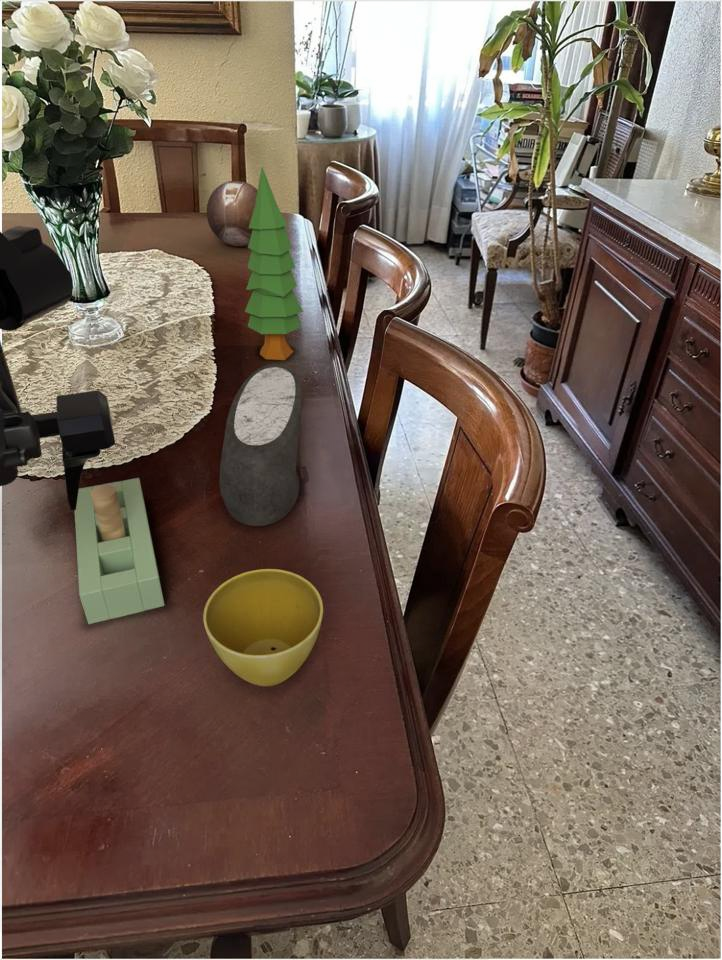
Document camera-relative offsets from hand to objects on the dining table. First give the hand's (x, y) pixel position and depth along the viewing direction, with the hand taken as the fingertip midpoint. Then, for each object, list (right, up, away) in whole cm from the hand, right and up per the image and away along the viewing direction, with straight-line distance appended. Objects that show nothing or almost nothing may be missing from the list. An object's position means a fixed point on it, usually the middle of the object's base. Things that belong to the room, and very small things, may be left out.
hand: (17, 518), depth 58 cm
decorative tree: (+15, +26, +58) cm, 65 cm away
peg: (+4, -5, +14) cm, 15 cm away
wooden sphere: (0, +62, +108) cm, 125 cm away
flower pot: (+22, -14, +3) cm, 26 cm away
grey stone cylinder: (+18, +5, +28) cm, 34 cm away
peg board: (+4, -5, +14) cm, 15 cm away
